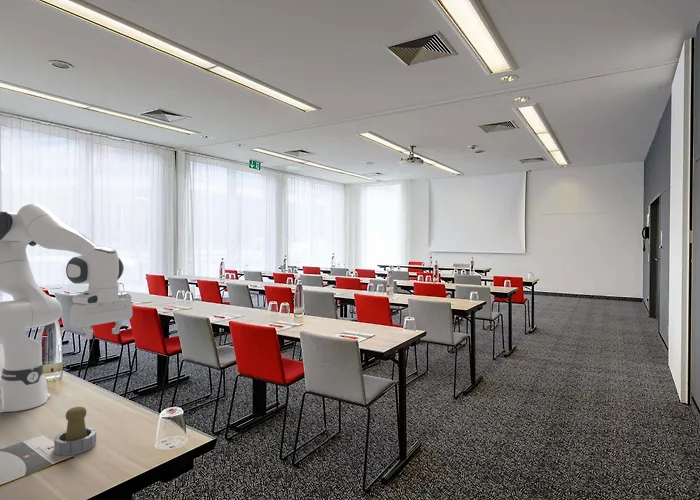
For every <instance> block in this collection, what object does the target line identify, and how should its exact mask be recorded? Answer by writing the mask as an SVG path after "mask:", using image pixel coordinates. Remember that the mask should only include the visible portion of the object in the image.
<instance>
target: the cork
mask: <svg viewBox="0 0 700 500" xmlns="http://www.w3.org/2000/svg"><path fill="white" fill-rule="evenodd" d="M86 416H87V409H86V408H85V407H84V406H74V407H71V408H69V409H68V410H67V411H66V412H65V419H66V420H67V426H66V430H65V431H66V438H65V441H74V440H79V439H82V438H85V437H87V433H86V427H87V426H86V422H85V418H86Z"/></svg>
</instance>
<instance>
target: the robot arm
mask: <svg viewBox="0 0 700 500" xmlns="http://www.w3.org/2000/svg"><path fill="white" fill-rule="evenodd" d="M28 245H29V246H31V247H35V246H37V245H38V246H39V247H42V248H45V249H48V250H57V251H66V252H70V253H71V252H72V253H76V254H79V255H77V256H73V257H71V258H70V259H69V260H68V262H67V264H66V267H65V273H66V277H67V278H68V280H69V281H70V282H71V283H73V284H75V285H76V284H79V285H85V284H86V285H87V284H88V288H87V290H85V291H82V292H81V293H79V294H76V295H74V296H73V297H72V302H73V304H72V305H71V307H70V312H69V324H70V326H71V327H73V328H77V329H78V328H81V330H82V332H83V333H84V339H85V340H87V341H88V340H92V339H93V338H94V337H93V336H94V334H93V333H91V332H90V331H89V330H90V329H91V326H97V325H102V324H108V323H112V322H113V323H114V324H115V325H114V327H113V328H111V331H112V332H111V334H112V335H118V334H120V328H121V327H122V326H123V324H124V323H123V321H124V320H131V319H132V317H133V316H134V315H133V305H132V296H131V294H129V293H127V292H124V293H119V283H118V282H119V281H118V280H120V278H121V277H122V275H123V273H124V269H125V266H124V263H123V261H122V259H120V257H119V256H118V251H117V250H116V249H114V248H111V247H105V246H99V245H98V244H97V243H95V242H94V241H93V240H91V239H90V238H89V237H87V236H86V235H84V234H83V233H80V232H79V231H77V230H76V229H74V228H72V227H71V226H69V225H67V224H66V223H65V222H63V221H62V220H61V219H60V218H58V217H57V216H56V215H55V213H53V212H51V210H49V209H47V208H46V207H44V206H43V205H41V204H37V203H28V204H26V205H24V206H22V207H21V208H19V210H18V211H16V212H15V211H0V291H1V292H3V293H5V294H8V295H10V296H12V297H13V298H14V299H15V300H7V301H6V300H5V301H0V344H1V346H2V349H3V350H2V351H3V359H4V361H3V362H4V368H1V369H0V370H2V371H1V377H0V413H1V414H2V413H6V412H7V413H8V412H9V413H10V412H20V411H26V410H30V409H33V408H36V407H40V406H42V405H43V404H46V403H47V401H48V399H50V398H51V397H52V394H51V393H49V390H48V383H47V376H45V375H43V374H44V370H45V369H44V364H43V357H42V356H43V346H42V344H41V342H40V341H38V340H37V339H34V338H32V337H28V335H27V330H28V329H34V328H40V327H45V326H48V325H51V324H54V323H56V322H59V320H60V319H61V317H62V314H63V306H62V304H61V302H60V301H59V300H58V299H56V298H54V297H52V296H50V295H48V294H47V293H45V291H44V290H42V289H41V287H39V285H38V283H37V282H36V280H35V278H34V275H33V271H32V268H31V265H30V261H29V257H28V255H27V247H28Z"/></svg>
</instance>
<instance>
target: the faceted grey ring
mask: <svg viewBox="0 0 700 500" xmlns="http://www.w3.org/2000/svg"><path fill="white" fill-rule="evenodd" d="M85 427H86V433H87V437H85V438H82V439H79V440H74V441H65V438H66V431H67V430H65V431H62V432H60V433H58V434H57V435H55V436H54V439H53V441H54V443H53V444H54V445H53V446H54V448H53V450H54V451H53V453H55V454H56V455H58V456H62V457H63V456H65V457H66V456H73V455H78V454H82V453H85V452H87V451H89V450H91V449H93V448H94V447H95V446H96V444H97V431H96V428H94V427H90V426H89V427H87V426H85Z"/></svg>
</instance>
